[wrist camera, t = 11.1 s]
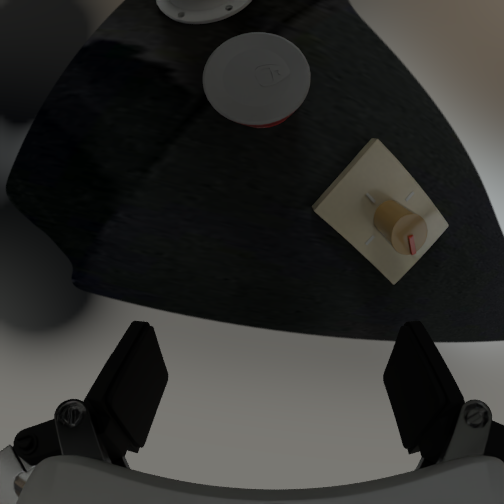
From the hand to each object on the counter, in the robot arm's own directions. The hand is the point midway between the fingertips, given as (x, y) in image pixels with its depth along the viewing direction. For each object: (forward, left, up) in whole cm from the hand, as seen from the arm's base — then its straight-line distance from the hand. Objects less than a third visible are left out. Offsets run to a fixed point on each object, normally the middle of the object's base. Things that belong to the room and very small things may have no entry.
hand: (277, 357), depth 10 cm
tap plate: (+8, +11, -24) cm, 28 cm away
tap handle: (+8, +11, -22) cm, 26 cm away
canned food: (-11, +5, -24) cm, 27 cm away
